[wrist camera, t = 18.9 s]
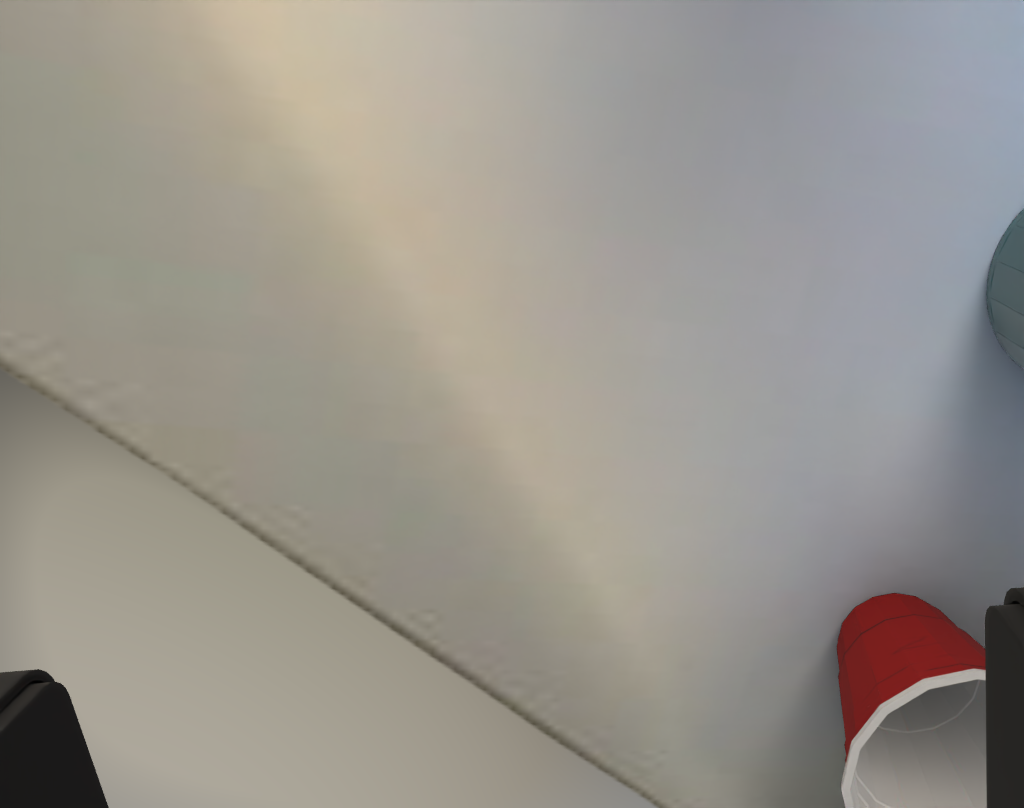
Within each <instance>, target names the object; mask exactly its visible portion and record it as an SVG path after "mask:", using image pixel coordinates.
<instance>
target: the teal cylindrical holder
mask: <svg viewBox="0 0 1024 808" xmlns="http://www.w3.org/2000/svg"><path fill="white" fill-rule="evenodd" d="M986 295H987V309H988V314H989V319H990V323H991V325H992V328H993V331H994V333H995V336H996V338H997V339H998V341H999V343H1000V345H1001V346H1002V348H1003V349H1004V350H1005V352H1006V353H1007V354H1008V356H1009V357H1010V358H1011V359H1012V360H1013V361H1014V362H1015V363H1016V364H1017V365H1018V366H1020V367H1021V368H1022V369H1024V209H1023V210H1022V211H1021V212H1020V213H1019V215H1018V216H1017V217H1016V218H1015V219H1014V220H1013V222H1012V223H1011V225H1010V226H1009V228H1008V229H1007V231H1006V232H1005V234H1004V235H1003V237H1002V239H1001V241H1000V243H999V245H998V247H997V249H996V251H995V254H994V257H993V260H992V263H991V266H990V271H989V275H988V280H987V293H986Z"/></svg>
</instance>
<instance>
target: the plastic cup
mask: <svg viewBox="0 0 1024 808" xmlns="http://www.w3.org/2000/svg"><path fill="white" fill-rule="evenodd" d="M837 654H838V662H839V670H840V671H839V675H838V679H839V687H840V695H841V704H842V712H843V720H844V728H845V737H846V741H845V750H846V759H845V761H846V765H845V769H844V773H843V777H842V781H841V790H842V795H843V799H844V803H845V808H987V785H986V666H985V649H984V648H983V647H982V646H981V645H980V644H979V643H978V642H977V641H975V640H974V639H973V638H972V637H971V636H970V635H969V634H967V633H966V632H965V631H963V630H961V629H960V628H958V627H957V626H956V625H955V624H954V623H953V622H952V621H951V620H950V619H949V618H948V617H947V616H946V615H944V614H943V613H942V612H941V611H940V610H939V609H937V608H935V607H933V606H932V605H930V604H928V603H926V602H925V601H923V600H921V599H919V598H918V597H916V596H910V595H904V594H897V593H892V594H887V595H881V596H876V597H872V598H870V599H869V600H867V601H865V602H864V603H862V604H860V605H858V606H857V607H855V608H854V609H853V610H852V612H851V613H850V614H849V615H848V617H847V618H846V619H845V620H844V621H843V623H842V627H841V630H840V634H839V638H838V644H837Z"/></svg>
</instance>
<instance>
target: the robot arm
mask: <svg viewBox="0 0 1024 808" xmlns="http://www.w3.org/2000/svg"><path fill="white" fill-rule="evenodd" d="M985 666H986V785H987V808H1024V587H1023V588H1011V589H1010V590H1009V591H1008V592H1007V594H1006V597H1005V600H1004V605H999V606H990V607H989V608H988V609H987V612H986V617H985ZM0 808H108V805H107V802H106V799H105V796H104V794H103V790H102V788H101V785H100V782H99V779H98V776H97V774H96V770H95V767H94V765H93V762H92V759H91V756H90V753H89V750H88V747H87V745H86V742H85V739H84V736H83V733H82V730H81V728H80V724H79V722H78V719H77V716H76V713H75V710H74V707H73V704H72V702H71V699H70V696H69V694H68V692H67V690H66V688H65V687H64V686H63V685H62V684H61V683H57V682H55V681H54V679H53V678H52V677H51V676H50V675H49V674H48V673H47V672H45V671H42V670H39V669H38V670H26V671H15V672H3V673H0Z"/></svg>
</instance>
